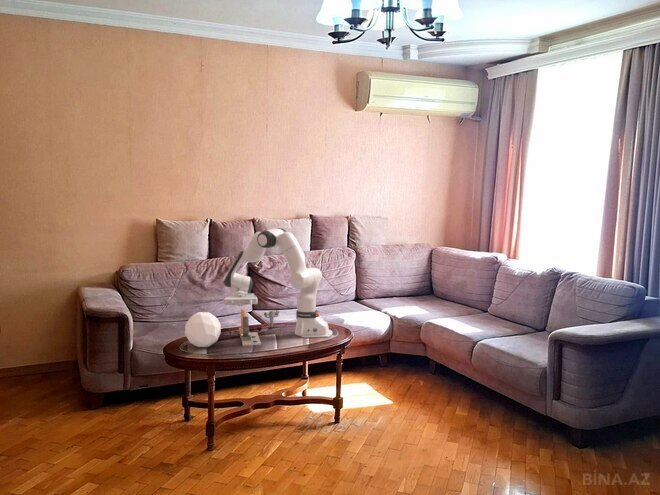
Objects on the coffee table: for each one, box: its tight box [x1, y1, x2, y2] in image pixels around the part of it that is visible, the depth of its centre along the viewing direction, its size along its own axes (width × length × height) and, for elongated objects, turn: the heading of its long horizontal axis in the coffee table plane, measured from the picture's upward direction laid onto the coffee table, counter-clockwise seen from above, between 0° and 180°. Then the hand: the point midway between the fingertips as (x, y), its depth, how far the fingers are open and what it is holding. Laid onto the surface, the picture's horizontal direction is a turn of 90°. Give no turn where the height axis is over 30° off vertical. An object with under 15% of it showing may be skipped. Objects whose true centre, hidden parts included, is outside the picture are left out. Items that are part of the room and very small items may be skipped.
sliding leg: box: [238, 309, 247, 334], centre depth 340 cm, size 5×5×13 cm
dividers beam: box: [239, 315, 251, 347], centre depth 333 cm, size 23×5×16 cm, turn 13°
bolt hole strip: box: [249, 331, 262, 346], centre depth 335 cm, size 23×6×1 cm, turn 13°
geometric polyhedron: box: [184, 311, 222, 348], centre depth 321 cm, size 19×20×20 cm
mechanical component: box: [263, 309, 280, 328], centre depth 363 cm, size 3×10×10 cm, turn 127°
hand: (241, 303), depth 351 cm, fingers open, 8 cm apart
